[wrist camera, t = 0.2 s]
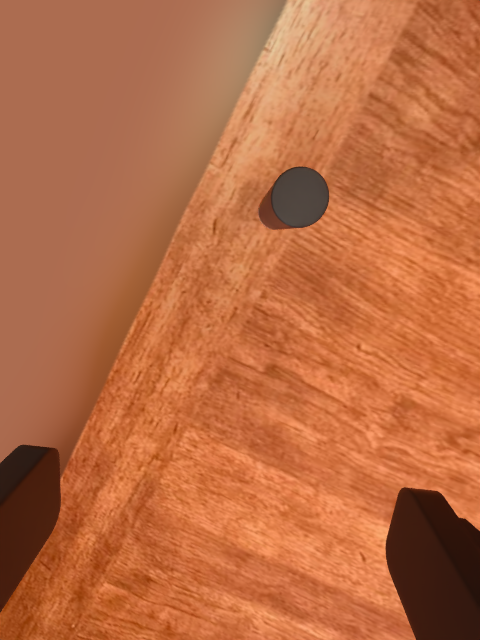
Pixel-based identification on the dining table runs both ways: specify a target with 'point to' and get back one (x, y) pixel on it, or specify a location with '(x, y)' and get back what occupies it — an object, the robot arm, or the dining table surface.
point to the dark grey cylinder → (294, 200)
